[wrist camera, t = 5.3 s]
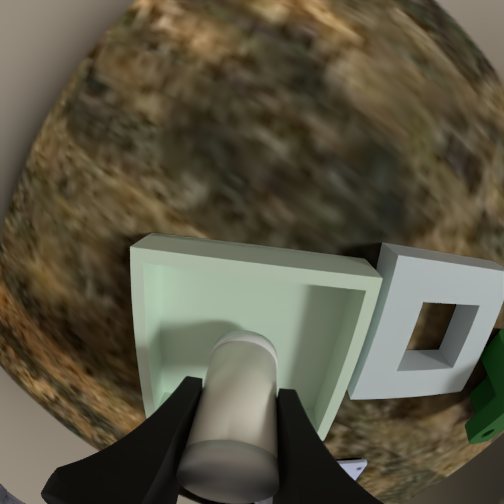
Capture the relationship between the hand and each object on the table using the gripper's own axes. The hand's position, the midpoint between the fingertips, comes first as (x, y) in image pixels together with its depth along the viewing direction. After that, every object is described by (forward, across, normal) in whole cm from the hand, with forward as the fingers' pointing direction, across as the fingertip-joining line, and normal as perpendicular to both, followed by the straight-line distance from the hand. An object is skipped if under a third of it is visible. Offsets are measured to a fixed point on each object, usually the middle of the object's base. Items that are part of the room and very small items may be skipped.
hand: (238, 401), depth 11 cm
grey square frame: (+5, -10, -2) cm, 11 cm away
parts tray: (+5, 0, 0) cm, 5 cm away
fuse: (+3, 0, 0) cm, 3 cm away
